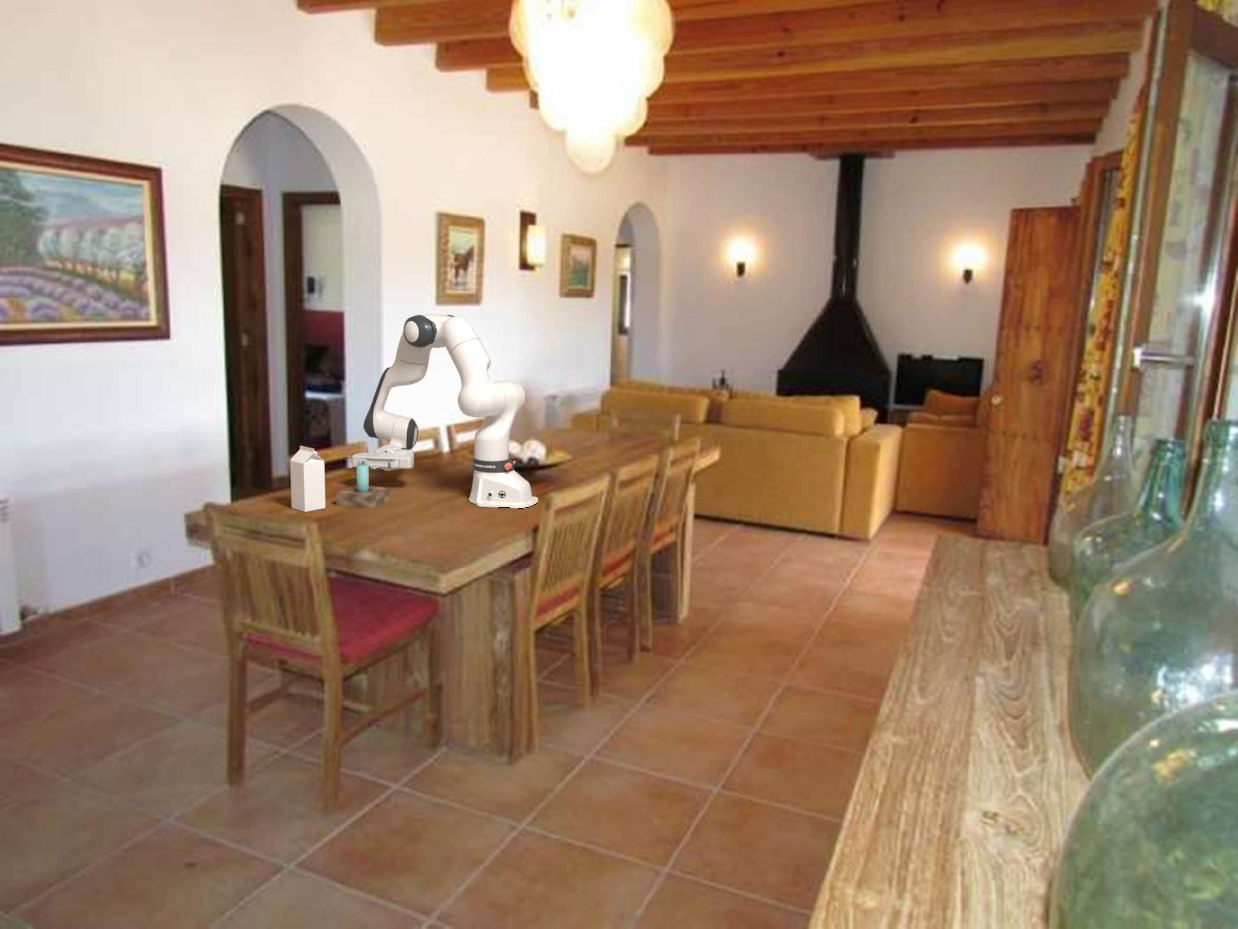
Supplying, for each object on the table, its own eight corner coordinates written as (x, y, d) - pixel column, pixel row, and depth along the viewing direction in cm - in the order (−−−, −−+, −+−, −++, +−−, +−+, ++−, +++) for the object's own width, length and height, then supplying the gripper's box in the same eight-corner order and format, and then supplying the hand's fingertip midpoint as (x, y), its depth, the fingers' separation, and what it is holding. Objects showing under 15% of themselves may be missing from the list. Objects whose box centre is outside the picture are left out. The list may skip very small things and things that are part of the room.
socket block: (389, 500, 281) (389, 488, 280) (370, 508, 269) (370, 496, 269) (355, 496, 283) (355, 484, 283) (335, 504, 272) (335, 492, 271)
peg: (371, 501, 278) (370, 464, 275) (365, 504, 274) (364, 466, 272) (360, 500, 278) (360, 463, 276) (355, 503, 275) (354, 466, 273)
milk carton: (305, 512, 261) (303, 450, 258) (291, 508, 266) (289, 447, 262) (325, 508, 267) (324, 447, 263) (312, 504, 271) (310, 444, 268)
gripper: (359, 447, 300) (344, 454, 287) (417, 449, 299) (405, 456, 286) (359, 465, 301) (344, 472, 288) (417, 467, 300) (406, 475, 287)
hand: (375, 464), depth 287 cm, fingers open, 8 cm apart
